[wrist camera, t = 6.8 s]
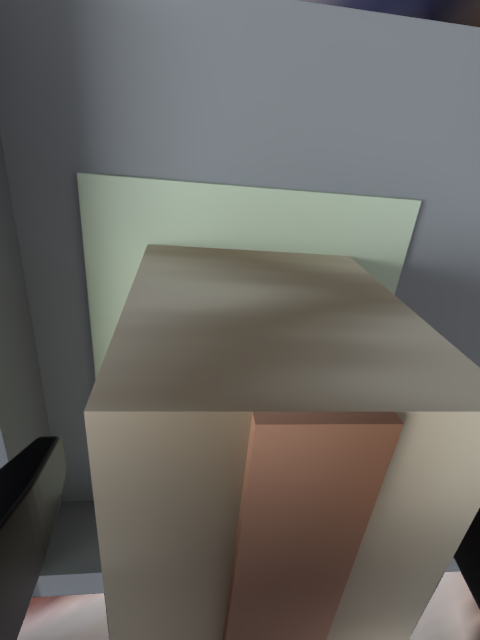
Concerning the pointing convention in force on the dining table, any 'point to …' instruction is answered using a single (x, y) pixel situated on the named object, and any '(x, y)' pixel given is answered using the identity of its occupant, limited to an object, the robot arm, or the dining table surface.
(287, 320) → the birch block
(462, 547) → the robot arm
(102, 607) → the dining table surface
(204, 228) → the corner arena
